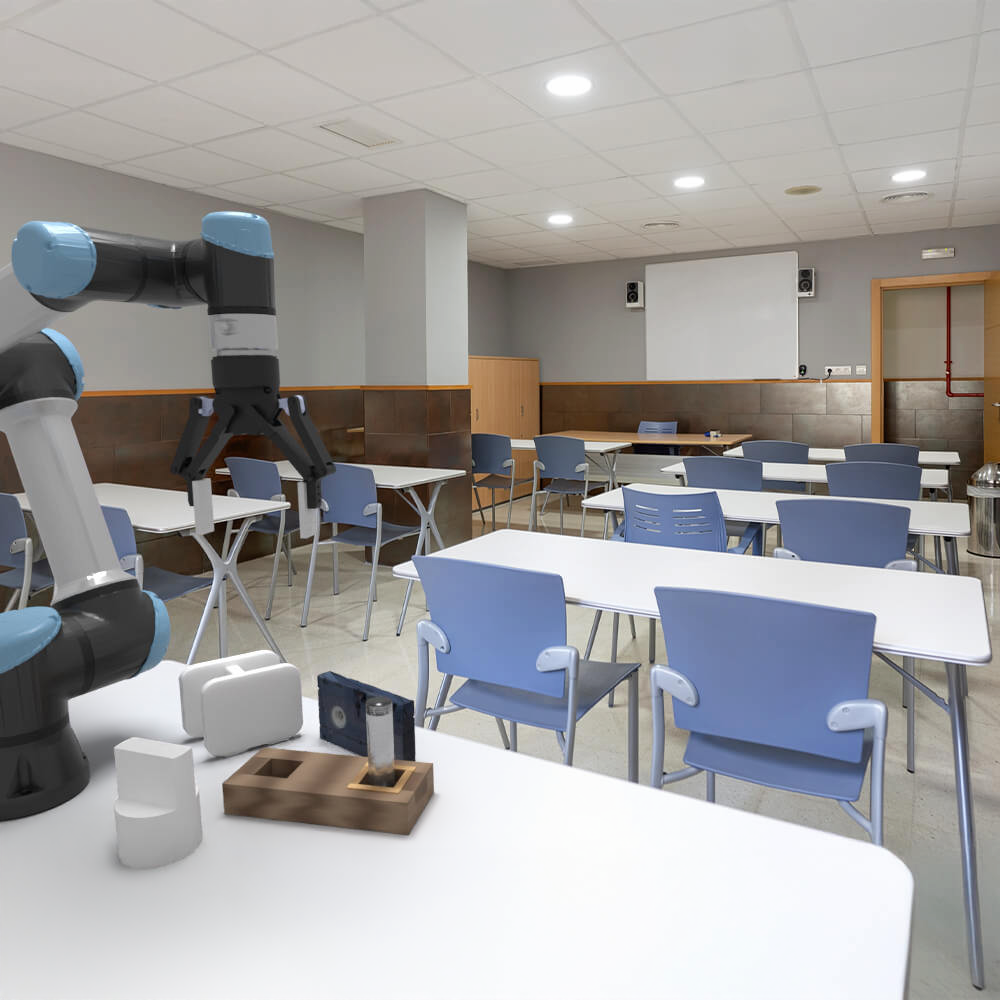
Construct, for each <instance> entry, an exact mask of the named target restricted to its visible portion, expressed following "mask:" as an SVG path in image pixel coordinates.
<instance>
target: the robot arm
mask: <svg viewBox="0 0 1000 1000" xmlns="http://www.w3.org/2000/svg"><path fill="white" fill-rule="evenodd" d="M199 235H200V237H199V238H196V239H194V238H193V239H187V240H169V239H162V238H159V237H152V236H151V237H150V236H145V235H140V234H139V235H137V234H133V233H132V234H131V233H124V232H117V231H113V230H112V231H111V230H105V229H100V228H93V227H88V226H82V225H76V224H73V223H70V222H67V221H64V222H63V221H43V220H31V221H29V222H26V223H25V224H22V226H20V228H19V229H18V230H17V233H16V236H17V237H16V238H14V239H13V241H12V243H11V244H12V245H11V253H10V254H11V256H10V257H11V261H10V262H9V263H7V264H6V265H5V266H2V268H0V432H2V433H4V434H5V436H6V439H7V441H8V444H9V448H10V450H11V454H12V457H13V459H14V462H15V463H14V464H15V465H16V469H17V471H18V474H19V479H20V480H21V481H20V482H21V484H22V486H23V489H24V492H25V495H26V498H27V502H28V504H29V507H30V511H31V513H32V517H33V519H34V522H35V525H36V529H37V531H38V534H39V537H40V540H41V543H42V546H43V549H44V551H45V554H46V558H47V561H48V564H49V567H50V571H51V573H52V576H53V580H54V581H55V585H56V587H57V593H56V594H55V595H54V597H53V599H51V601H50V604H49V605H50V607H49V606H29V607H24V608H21V609H18V610H17V609H12V610H9V611H5V612H2V613H1V612H0V821H5V820H10V819H17V818H22V817H26V816H30V815H34V814H37V813H41V812H43V811H46V810H49V809H51V808H54V807H57V806H59V805H60V804H62V803H65V802H66V801H68V800H71V798H73V797H75V796H76V795H78V794H79V793H80V792H81V791H82V790H84V788H85V787H86V786H87V785H88V783H89V782H90V779H91V770H90V762H89V758H88V756H87V754H86V753H85V752H84V751H83V750H82V747H81V744H80V742H79V740H78V738H77V735H76V733H75V731H74V729H73V728H72V725H71V720H70V719H71V718H70V711H69V701H70V700H72V699H74V698H78V697H81V696H84V695H85V694H89V693H91V692H95V691H97V690H100V689H103V688H106V687H109V686H111V685H114V684H116V683H119V682H122V681H127V680H131V679H133V678H137V677H138V676H139V675H140V674H143V673H145V672H147V671H150V670H152V669H154V668H156V666H158V665H159V664H160V663H161V662H162V660H163V659H164V657H165V656H166V655H167V651H168V647H169V645H170V642H171V635H172V633H171V630H172V629H171V628H172V627H171V621H170V616H169V612H168V609H167V607H166V605H165V603H164V601H163V599H162V598H159V597H158V595H157V594H156V593H154V592H153V591H150V590H146V589H145V590H142V588H141V586H140V583H139V581H138V578H137V576H136V575H135V576H134V575H132V574H130V573H128V572H126V571H124V570H123V568H122V566H121V563H120V560H119V557H118V554H117V552H116V551H117V550H116V549H115V546H114V542H113V538H112V537H111V534H110V530H109V528H108V524H107V522H106V519H105V516H104V514H103V513H104V512H103V511H102V507H101V505H100V501H99V499H98V495H97V492H96V490H95V487H94V483H93V482H92V477H91V476H90V475H91V474H90V472H89V469H88V467H87V463H86V461H85V458H84V455H83V452H82V448H81V446H80V444H79V440H78V437H77V434H76V431H75V428H74V426H73V423H72V417H73V416H74V414H75V412H76V411H78V408H79V406H78V403H77V402H78V400H79V399H80V398H81V396H82V394H83V392H84V389H85V381H84V380H83V378H84V377H85V369H84V365H83V361H82V359H81V356H80V354H79V352H78V351H77V349H76V347H75V346H74V344H73V343H72V342H71V341H70V339H69V338H68V337H66V336H65V335H64V334H62V333H60V332H58V331H57V330H55V329H52V328H48V327H50V326H51V325H54V323H56V322H58V321H60V320H61V319H63V318H65V317H67V316H68V315H70V314H72V313H74V312H75V311H78V310H79V309H81V308H83V307H85V306H87V305H88V304H90V303H92V302H96V301H102V302H118V303H130V304H143V305H147V306H149V307H152V308H156V309H170V310H171V309H172V310H177V309H178V310H179V309H180V310H181V309H182V308H187V307H195V306H204V305H207V311H206V312H207V317H208V319H207V320H208V331H209V332H208V333H209V345H210V347H209V348H210V350H211V351H212V352H215V353H216V354H215V356H212V359H211V360H210V365H211V380H212V386H213V389H214V393H215V394H214V397H213V398H210V397H209V396H205V395H204V396H193V397H190V399H189V408H188V410H189V412H188V417H187V421H186V423H185V427H184V430H183V432H182V434H181V437H180V440H179V443H178V445H177V449H176V451H175V454H174V455H173V459H172V462H171V464H170V467H169V471H170V472H169V473H171V474H172V475H174V476H179V477H182V478H184V479H185V481H186V490H187V502H188V505H189V507H193V511H194V525H195V535H196V536H204V535H206V534H209V533H213V532H215V523H214V521H215V520H214V506H213V494H212V480H211V478H208V477H207V476H208V475H207V472H208V470H209V469H210V467H211V466H212V465H213V463H214V462H215V460H216V459H217V458H218V457H219V455H220V453H221V452H222V451H223V449H224V448H225V446H226V445H227V443H228V442H229V440H230V439H231V438H232V437H234V436H241V435H250V436H262V435H264V436H265V437H266V438H267V439H269V440H271V442H273V444H274V445H275V446H276V447H277V449H278V450H279V451H280V453H281V454H282V455H283V456H284V457H285V458H286V460H287V461H288V462H289V463H290V464H291V466H293V468H294V469H295V470H296V472H297V473H298V474H299V475H300V476H301V478H303V480H302V481H298V482H297V496H298V498H297V501H298V514H299V515H298V517H299V534H300V539H309V538H311V537H312V536H315V535H317V534H318V533H317V532H318V531H317V516H316V515H317V513H316V511H317V510H316V509H319V508H321V506H322V503H323V501H322V480H323V479H325V477H328V476H330V475H333V474H335V473H336V471H337V467H336V465H335V463H334V461H333V459H332V457H331V455H330V453H329V451H328V449H327V447H326V445H325V444H324V441H323V439H322V438H321V435H320V433H319V432H318V429H317V428H316V426H315V424H314V422H313V420H312V418H311V416H310V413H309V409H308V408H309V407H308V402H307V398H306V396H304V395H302V394H301V395H300V394H299V395H298V394H297V395H290V396H288V397H285V398H283V397H282V395H281V392H280V387H281V377H280V376H281V374H280V360H279V358H278V356H275V355H274V352H276V351H278V350H279V341H278V340H279V337H278V327H277V312H276V291H275V289H276V287H275V271H274V270H275V269H274V266H275V265H274V262H275V261H274V259H275V252H274V250H273V242H272V241H273V240H272V233H271V227H270V224H269V222H268V220H266V218H264V217H262V216H261V215H258V214H254V213H249V212H242V211H216V212H210V213H208V214H206V215H205V216H204V217H203V218H202V220H201V231H200V233H199ZM283 410H284V413H285V414H286V415H287V416H289V418H290V421H291V423H292V425H293V427H294V429H295V431H296V433H297V435H298V437H299V439H300V441H301V443H302V445H303V446H304V448H305V450H304V449H303V448H302V447H301V446H300V444H299V443H298V441H296V440H295V438H294V437H293V435H291V433H290V432H289V429H288V427H287V426H286V425H285V423H284V422H283V421H282V420H281V418H280V415H281V414H282V412H283ZM213 413H215V414H216V415H217V416H218V419H217V420H216V422H215V424H214V426H213V427H212V428H211V430H210V431H211V433H210V434H209V436H208V438H207V439H206V440H205V442H204V444H202V446H201V442H202V440H203V437H204V435H205V432H206V429H207V427H208V424H209V421H210V418H211V416H212V414H213ZM200 446H201V448H200ZM199 448H200V449H199ZM198 450H199V451H198ZM206 477H207V478H206Z"/></svg>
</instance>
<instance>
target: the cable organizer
mask: <svg viewBox="0 0 1000 1000" xmlns="http://www.w3.org/2000/svg"><path fill="white" fill-rule="evenodd" d="M301 675H302V674H301V670H300V669H299V668H298V667H296V666H295V665H294V664H292V663H289V662H287V663H286V662H283V663H282V662H281V658H280V656H279V655H278V654H276V653H275V652H274V651H271V650H270V649H269V650H268V649H260V650H255V651H251V652H247V653H246V652H245V653H242V654H241V653H240V654H236V655H232V656H227V657H223V658H221V657H220V658H216V659H213V660H209V661H208V660H207V661H204V662H198V663H193V664H190V665H188V666H186V667H185V668H184V669H183V670H182V671H181V672H180V674H179V676H178V682H179V684H178V685H179V696H180V699H179V700H180V707H181V708H180V710H181V711H180V712H181V722H182V723H181V724H182V728H183V730H184V732H185V733H186V734H187V735H188V736H190V737H192V738H203V745H204V749H206V751H207V752H208V753H209V754H210V755H212V756H215V757H216V756H217V757H222V756H223V757H224V758H227V757H231V756H234V755H238V754H241V753H245V752H247V751H248V750H249V749H251V748H256V747H259V746H262V745H266V744H267V745H269V746H270V745H274V744H277V743H281V742H285V741H288V740H290V738H291V737H293V736H295V735H296V734H298V733H299V732H300V731H301V729H302V728H303V725H304V715H303V714H304V713H303V698H302V697H303V696H302V695H303V694H302V678H301Z"/></svg>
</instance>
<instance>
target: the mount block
mask: <svg viewBox="0 0 1000 1000" xmlns="http://www.w3.org/2000/svg"><path fill="white" fill-rule="evenodd" d="M394 765H395V786H394V788H391V787H381V786H371V785H369V771H368V757H362V756H359V755H350V754H349V755H348V754H338V753H328V752H315V751H307V750H305V751H304V750H297V749H285V748H275V747H274V748H273V747H261V749H259V750H258V751H257V752H256V753H255V754H254V755H253V756H251V758H249V759H248V760H247V761H246V762H244V763H243V764H242V765H241V766H240V767H239V768H238V769H237V770H236V771H234V772H232V774H231V775H230V776H229V777H227V778H226V779H225V780H224V781H223V782H222V783H221V785H222V787H221V789H222V800H223V814H225V815H234V816H241V817H251V818H259V819H268V820H277V821H284V822H285V821H287V822H293V823H294V822H295V823H302V824H310V825H318V826H319V825H320V826H328V827H329V826H330V827H337V828H346V829H353V830H354V829H355V830H364V831H372V832H380V833H381V832H382V833H388V834H389V833H390V834H398V835H406V836H407V835H408V836H409V835H410V833H411V831H412V829H413V828H414V827H415V824H416V823H417V821H418V820H419V819H420V816H421V815H422V814H423V812H424V810H425V809H426V806H427V804H428V803H429V801H430V800H431V798H432V796H433V795H434V793H435V784H434V782H435V781H434V763H433V762H424V761H423V762H422V761H416V762H415V761H404V760H394Z"/></svg>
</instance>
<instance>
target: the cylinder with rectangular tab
mask: <svg viewBox="0 0 1000 1000" xmlns="http://www.w3.org/2000/svg"><path fill="white" fill-rule="evenodd" d="M113 753H114V754H113V755H114V765H115V773H116V774H115V775H116V785H117V786H116V787H117V794H118V795H117V796H118V797H117V798H116V799H115V801H114V804H113V810H114V811H113V812H114V822H115V823H114V824H115V832H116V840H117V841H116V842H117V855H118V858H119V861H120V862H121V863H122V864H123V865H125V866H128V867H131V868H137V869H153V868H159V867H163V866H167V865H171V864H174V863H176V862H178V861H180V860H182V859H185V858H186V857H187V856H189V855H191V854H192V853H194V852H195V851H196V850H197V848H199V847H200V845H201V844H202V841H203V825H202V810H201V799H200V797H201V796H200V787H199V785H198V784H197V783H196V779H195V766H194V765H195V764H194V753H193V747H192V746H189V745H183V744H177V743H171V742H166V741H159V740H155V739H154V740H153V739H148V738H142V737H136V736H132V737H130V738H128V739H125V740H124V741H121V742H120V743H119V744H117V745H116V746H114V747H113Z"/></svg>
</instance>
